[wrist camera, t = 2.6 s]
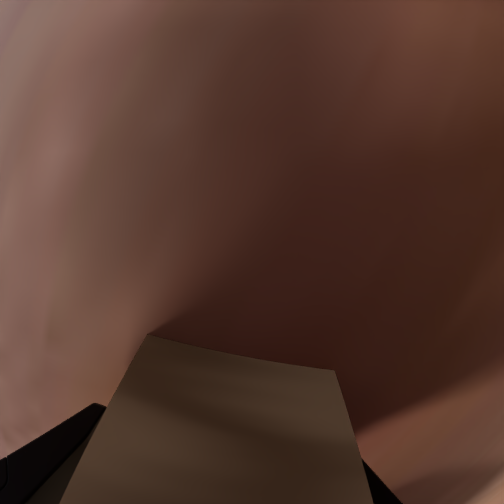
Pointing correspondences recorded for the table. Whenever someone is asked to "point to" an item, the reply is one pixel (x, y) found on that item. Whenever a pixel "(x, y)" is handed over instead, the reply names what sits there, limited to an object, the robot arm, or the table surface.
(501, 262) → the table surface
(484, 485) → the table surface
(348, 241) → the table surface
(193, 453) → the brown faceted block
